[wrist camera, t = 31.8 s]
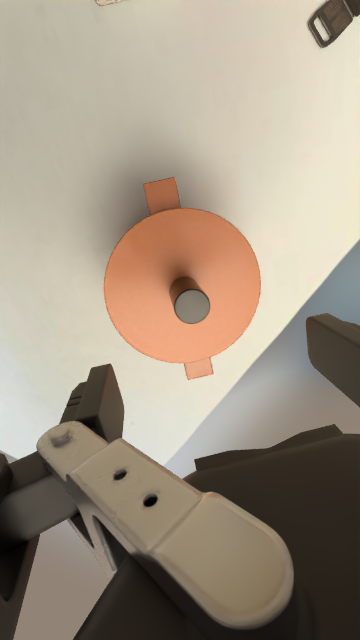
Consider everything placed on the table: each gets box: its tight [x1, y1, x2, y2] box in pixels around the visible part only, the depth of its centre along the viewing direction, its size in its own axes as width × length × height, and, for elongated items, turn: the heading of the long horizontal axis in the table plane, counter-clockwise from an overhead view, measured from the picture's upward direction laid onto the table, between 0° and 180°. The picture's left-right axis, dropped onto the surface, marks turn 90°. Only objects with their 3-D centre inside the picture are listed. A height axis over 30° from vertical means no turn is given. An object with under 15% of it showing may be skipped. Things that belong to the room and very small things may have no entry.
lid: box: [104, 208, 261, 363], centre depth 24 cm, size 12×12×6 cm
